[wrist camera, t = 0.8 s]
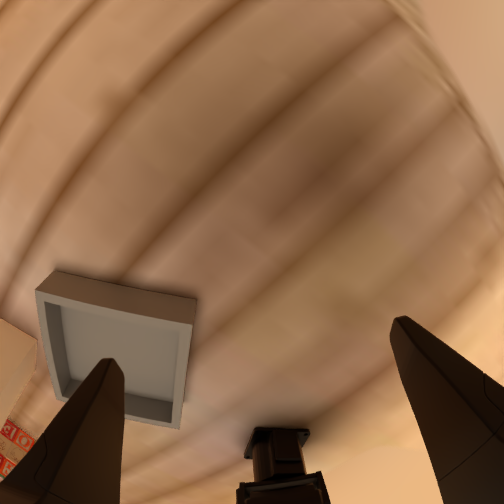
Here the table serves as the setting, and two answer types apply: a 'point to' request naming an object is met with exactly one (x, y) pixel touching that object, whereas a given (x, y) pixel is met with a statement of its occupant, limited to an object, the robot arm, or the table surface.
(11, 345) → the cream block
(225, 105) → the table surface
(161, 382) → the grey square tray
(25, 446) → the stack of blocks
